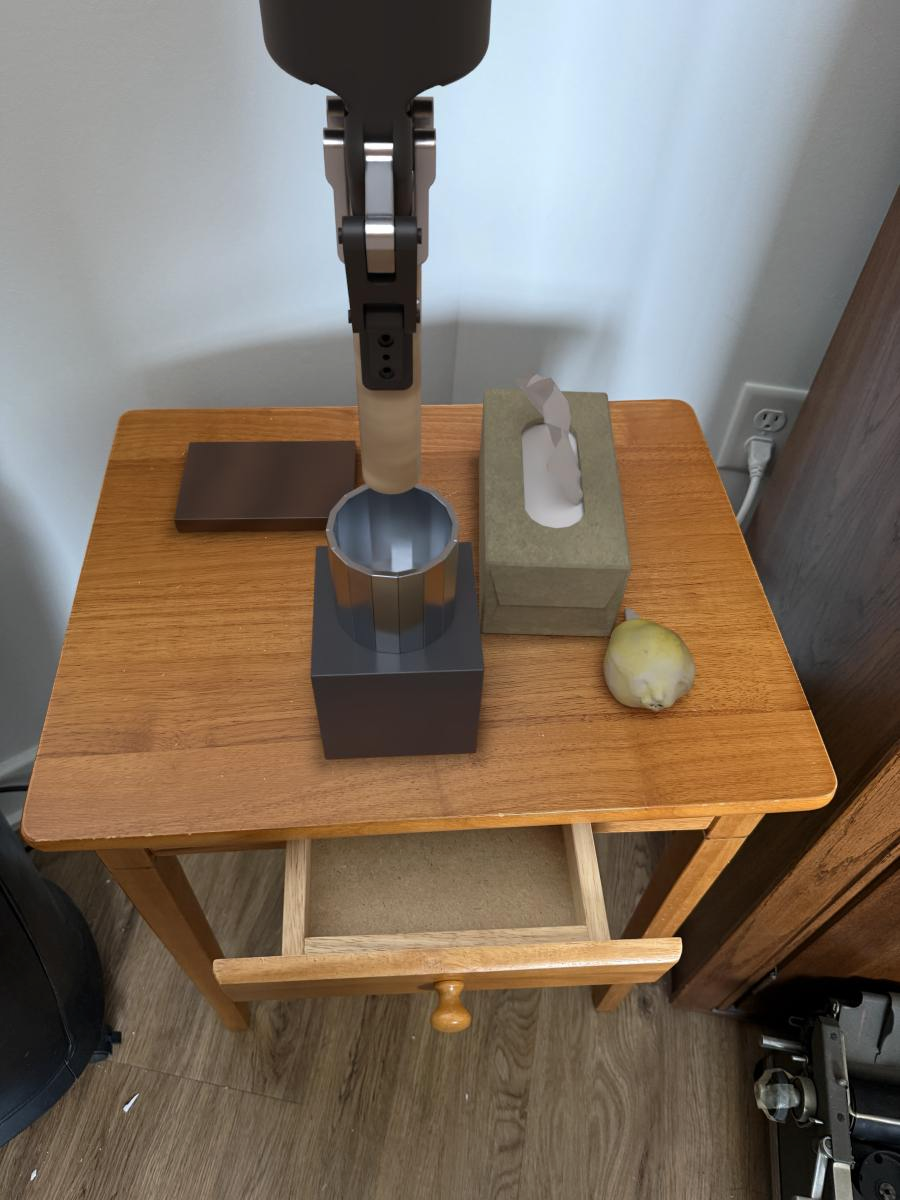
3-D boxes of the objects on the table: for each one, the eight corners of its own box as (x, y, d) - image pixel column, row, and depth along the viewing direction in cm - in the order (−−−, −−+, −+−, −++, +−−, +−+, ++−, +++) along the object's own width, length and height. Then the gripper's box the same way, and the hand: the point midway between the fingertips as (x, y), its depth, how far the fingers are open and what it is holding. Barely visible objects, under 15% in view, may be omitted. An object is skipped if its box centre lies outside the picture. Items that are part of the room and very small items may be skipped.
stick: (351, 482, 45) (333, 266, 36) (381, 447, 47) (371, 232, 37) (402, 502, 44) (398, 288, 35) (431, 466, 46) (434, 252, 37)
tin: (313, 623, 53) (301, 545, 48) (374, 544, 57) (370, 463, 52) (419, 671, 51) (419, 596, 46) (475, 586, 55) (481, 507, 50)
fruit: (663, 614, 67) (714, 717, 60) (587, 640, 67) (628, 745, 60) (654, 561, 63) (706, 665, 56) (572, 589, 63) (614, 695, 56)
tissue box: (478, 459, 77) (490, 297, 64) (591, 463, 77) (625, 302, 64) (479, 637, 65) (493, 481, 53) (612, 641, 65) (657, 487, 53)
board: (177, 532, 71) (173, 519, 69) (192, 454, 76) (189, 441, 75) (354, 530, 71) (353, 517, 70) (356, 453, 77) (355, 440, 76)
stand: (324, 759, 59) (310, 676, 51) (328, 636, 65) (315, 545, 57) (476, 753, 59) (484, 670, 51) (465, 632, 65) (471, 541, 57)
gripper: (264, -182, 31) (312, 273, 44) (216, -43, 22) (293, 470, 36) (482, -177, 31) (462, 273, 45) (519, -37, 22) (481, 468, 36)
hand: (387, 358), depth 40 cm, fingers closed on stick, 3 cm apart
